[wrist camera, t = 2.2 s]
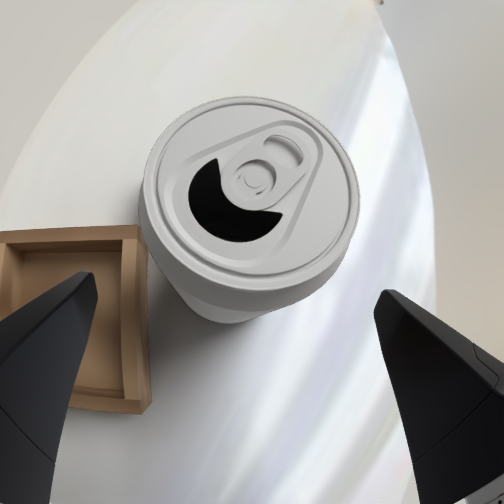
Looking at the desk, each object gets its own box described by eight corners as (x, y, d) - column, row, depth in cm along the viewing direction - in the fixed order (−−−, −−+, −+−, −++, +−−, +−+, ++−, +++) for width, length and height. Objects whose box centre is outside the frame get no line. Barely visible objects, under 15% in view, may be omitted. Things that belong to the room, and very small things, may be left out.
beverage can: (154, 273, 18) (78, 182, 7) (225, 203, 20) (247, 58, 8) (231, 345, 18) (270, 369, 6) (299, 268, 19) (408, 183, 8)
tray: (151, 401, 16) (141, 414, 13) (20, 385, 15) (-5, 390, 12) (148, 241, 19) (137, 224, 16) (22, 245, 17) (-1, 231, 14)
